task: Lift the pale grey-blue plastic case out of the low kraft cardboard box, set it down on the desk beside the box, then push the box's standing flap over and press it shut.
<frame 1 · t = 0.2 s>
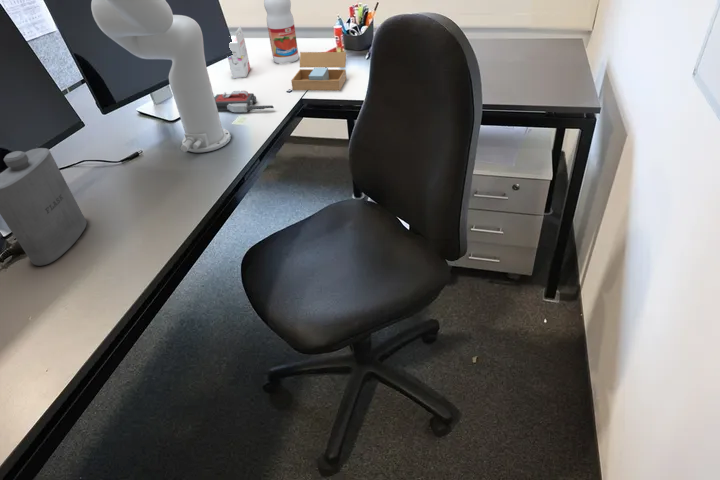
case: (319, 84, 156), resting on carton
carton: (320, 85, 156), on the table
ink cartridge box: (241, 74, 170), on the table
flap: (322, 59, 157), point 6 cm above the table, hinge at 125.0°
flask: (63, 242, 99), on the table
toy chainsaw: (244, 108, 146), on the table
fruit juice: (286, 60, 178), on the table
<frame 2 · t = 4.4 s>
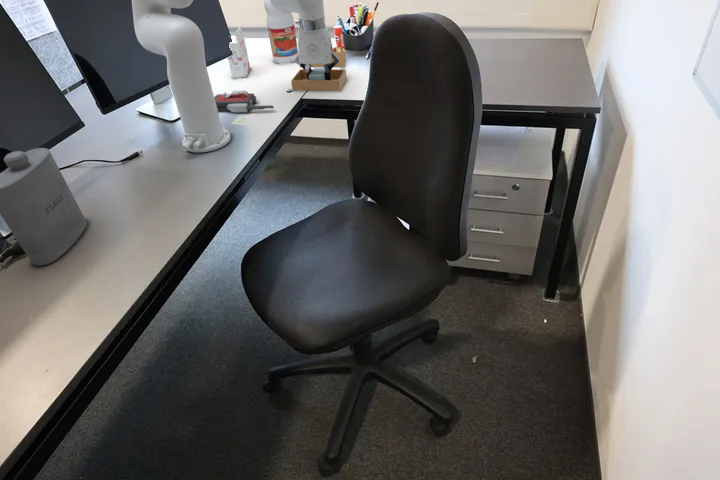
hand: (319, 82, 156), 1 cm above the table, tool pointing down, fingers closed on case, 4 cm apart
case: (319, 84, 156), resting on carton, touching gripper
everything else where it was.
when the fingers open (0 cm above the table, at t = 11.3 s): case stays where it is, on the table.
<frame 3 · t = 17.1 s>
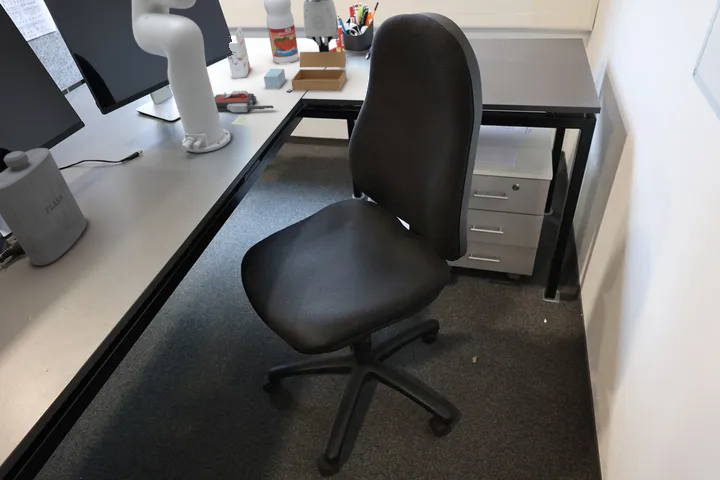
hand: (324, 56, 159), 6 cm above the table, tool pointing down, fingers closed
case: (276, 84, 159), on the table
flap: (322, 59, 157), point 6 cm above the table, hinge at 119.6°
everything else where it was.
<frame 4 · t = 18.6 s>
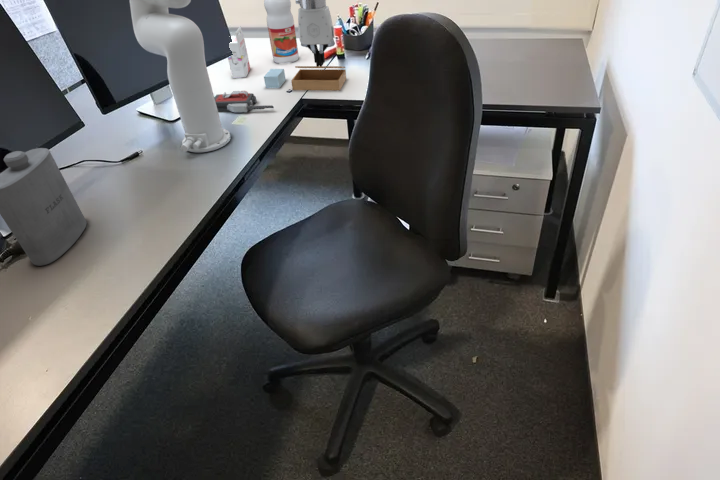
hand: (320, 64, 155), 6 cm above the table, tool pointing down, fingers closed
flap: (320, 67, 155), point 5 cm above the table, hinge at 21.6°
everything else where it was.
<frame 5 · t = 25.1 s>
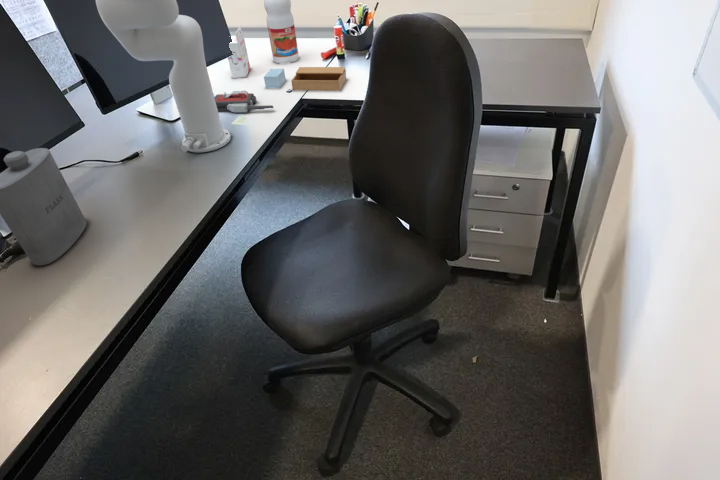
flap: (320, 70, 156), point 4 cm above the table, hinge at -1.7°
everything else where it was.
at the end: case inside the target area (0.2 cm from its centre), on the table; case tilted 0°; flap at -2° (first picture: +125°) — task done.
